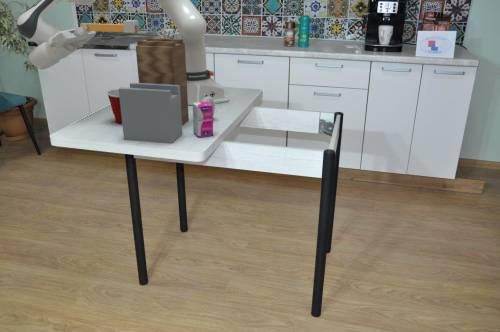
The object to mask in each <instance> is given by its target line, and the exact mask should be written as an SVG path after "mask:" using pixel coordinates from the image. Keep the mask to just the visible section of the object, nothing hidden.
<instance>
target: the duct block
mask: <svg viewBox="0 0 500 332" xmlns="http://www.w3.org/2000/svg"><path fill="white" fill-rule="evenodd" d="M118 89H119V97H120V107H121V116H122V124H121V125H122V135H123V140H127V141H129V140H130V141H136V142H137V141H138V142H139V141H140V142H151V143H152V142H153V143H162V144H163V143H165V144H173V143H174V142H176V141H177V140H178V139H179V138H181V136H183V135H182V134H183V133H184V132H183V126H182V115H181V97H180V85H169V84H150V83H139V82H131V83H129V87H120V88H118ZM176 139H177V140H176Z"/></svg>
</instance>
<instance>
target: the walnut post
mask: <svg viewBox="0 0 500 332" xmlns="http://www.w3.org/2000/svg"><path fill="white" fill-rule="evenodd" d="M136 42H137V43H136V44H137V45H135V55H136V63H137V64H136V65H137V75H138V76H137V78H138V83H150V84H169V85H180V97H181V115H182V127H183V126H184V125H185V124H186V123H188V122H189V121H190V120H189V119H190V117H189V105H188V95H187V75H186V56H185V43H183V39H179V38H161V37H160V38H159V37H157V38H154V37H153V38H152V37H150V38H149V37H148V38H146V39H145V40H137V41H136Z"/></svg>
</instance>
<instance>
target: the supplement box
mask: <svg viewBox="0 0 500 332" xmlns="http://www.w3.org/2000/svg"><path fill="white" fill-rule="evenodd" d="M192 120H193V121H192V124H193V125H192V126H193V127H192V128H193V131H192V132H193V135H195V136H196V137H197V138H198V139H199V138H204V137H205V138H206V137H213V136H214V115H213V105H211V104H210V103H209V102H197V103H193V105H192Z"/></svg>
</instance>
